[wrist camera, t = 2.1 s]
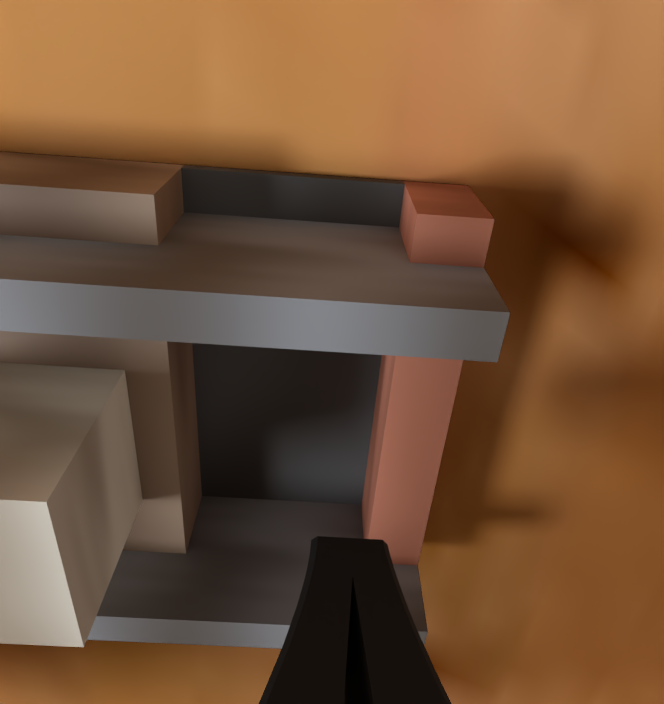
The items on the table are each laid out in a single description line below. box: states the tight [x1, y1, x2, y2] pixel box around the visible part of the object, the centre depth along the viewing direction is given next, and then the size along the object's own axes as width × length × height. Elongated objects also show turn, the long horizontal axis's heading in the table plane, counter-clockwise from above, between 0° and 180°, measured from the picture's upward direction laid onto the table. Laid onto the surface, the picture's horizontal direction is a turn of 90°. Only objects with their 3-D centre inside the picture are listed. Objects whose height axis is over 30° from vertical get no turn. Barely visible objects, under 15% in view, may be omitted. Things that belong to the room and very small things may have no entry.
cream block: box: [0, 363, 143, 647], centre depth 12 cm, size 4×4×4 cm
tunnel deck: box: [0, 151, 510, 649], centre depth 14 cm, size 18×12×4 cm, turn 86°
